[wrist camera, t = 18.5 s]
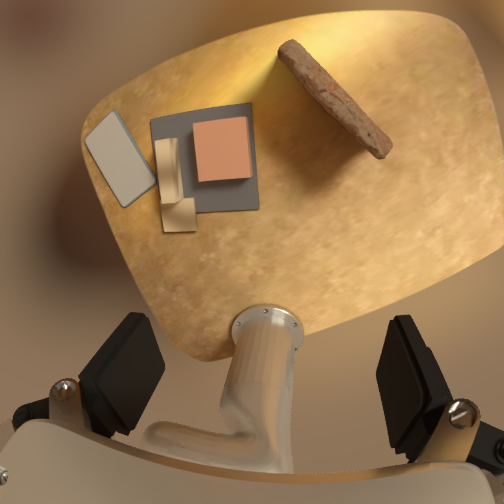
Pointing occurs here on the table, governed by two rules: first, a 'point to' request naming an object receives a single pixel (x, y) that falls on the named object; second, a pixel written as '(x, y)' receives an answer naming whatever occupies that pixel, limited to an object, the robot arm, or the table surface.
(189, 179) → the mat
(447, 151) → the table surface
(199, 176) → the tile
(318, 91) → the stone
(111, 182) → the smartphone
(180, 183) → the turner
